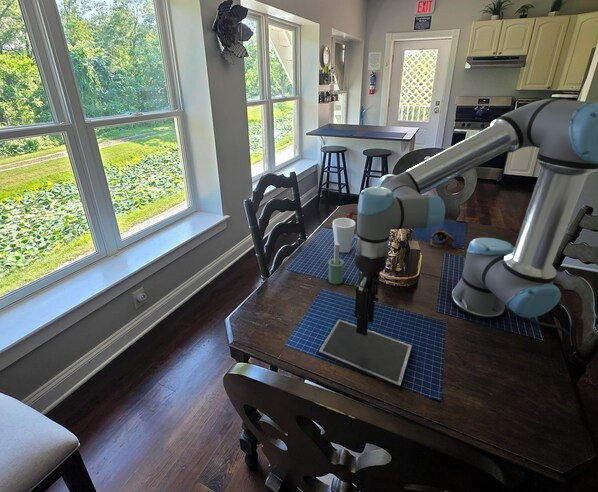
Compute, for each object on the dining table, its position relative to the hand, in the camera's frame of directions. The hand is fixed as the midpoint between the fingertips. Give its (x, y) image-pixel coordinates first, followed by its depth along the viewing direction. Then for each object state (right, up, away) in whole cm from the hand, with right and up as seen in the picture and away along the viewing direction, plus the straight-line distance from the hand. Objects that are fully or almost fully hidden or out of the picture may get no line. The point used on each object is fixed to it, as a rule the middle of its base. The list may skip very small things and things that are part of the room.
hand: (364, 326), depth 86 cm
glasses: (+14, +22, +74) cm, 79 cm away
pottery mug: (+45, +15, +55) cm, 73 cm away
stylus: (-4, +5, +33) cm, 33 cm away
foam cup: (+1, +13, +53) cm, 55 cm away
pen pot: (-4, +5, +33) cm, 33 cm away
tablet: (+1, -8, +3) cm, 8 cm away
